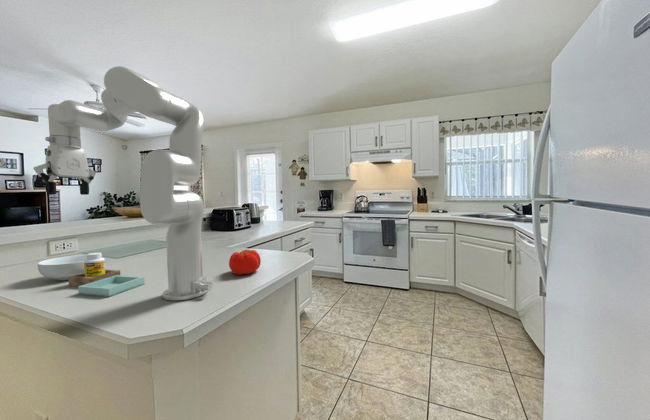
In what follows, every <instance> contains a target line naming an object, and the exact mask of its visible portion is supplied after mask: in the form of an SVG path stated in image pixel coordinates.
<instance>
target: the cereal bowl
mask: <svg viewBox="0 0 650 420" xmlns="http://www.w3.org/2000/svg"><path fill="white" fill-rule="evenodd" d="M85 260H87V254H83V255H81V254H80V255H69V256H61V257H60V256H58V257H54V258H48V259H45V260H42V261H38V262H37V270H38V273H39V274H40V275H41V276H43V277H45V278H48V279H53V280H56V281H69V279H68V277H70V276H74V275H78V274H82V273H85V268H84V261H85Z"/></svg>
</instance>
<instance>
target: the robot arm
mask: <svg viewBox="0 0 650 420" xmlns="http://www.w3.org/2000/svg"><path fill="white" fill-rule="evenodd" d="M103 84H104V88H105V89H103V91H102V92H101V94H100V96H101V97H100V99H101V102H102V105H103V106H104V108H105V109H102V108H98V107H95V106H92V105H89V104H85V103H82V102H79V101H76V100H71V99H70V100H69V99H68V100H63V101H61V102H60V103H53V104H50V105H48V107H47V118H48V120H47V121H48V132H49V134H48V135H49V137H48V136H46V137H45V141H46V142H48V143H49V145H48V146H47V148H46V152H45V153H46V154H45V163H42V164H39V165H37V166H33V170H34V172H35V173H36V174H37V177H38V178H40V179H41V180H42V182H44V186H45V187H44V188H45V192H46V195H57V183H56V181H55V180H56V179H57V178H71V179H73V178H74V179H75V178H76V179H78V180H79V182H80V183H79V193H80V195H83V196H84V195H85V196H87V195H88V196H89V194H90V184H91V182H92V181H93V180H94V178H95V176H96V173H97V172H96V171H95V170H93V169H91V168H90V167H89V163H88V158H87V154H86V151H85V150H84V148H82V140H81V139H82V138H81V128H85V129H90V130H94V131H99V132H108V131H113V130H116V129H119V128H121V127H122V126H123V125H125V123H126V122H127V119H128V117H129V115H132V114H135V113H139V114H141V115H142V116H145V117H148V118H150V119H154V120H157V121H160V122H162V123H166V124H170V125H172V126H175V127H174V129H173V130H171V133H170V137H169V148H168V149H154V150H151V151H150V152H149V153H148V154H147V155H145V157H144V159H143V161H142V164H141V169H140V170H141V171H140V197H139V198H140V199H139V201H140V202H139V203H140V204H139V205H140V207H139V208H140V212H141V215H142V217H143V218H144V220H145V221H146V222H148V223H149V224H151V225H158V226H159V225H160V226H161V225H169V226H168V229H167V232H166V238H165V242H166V244H165V245H166V265H167V266H166V269H167V285H168V288H167V289H165V290H164V291H163V292H162V298H163V299H164V300H167V301H174V302H175V301H185V300H190V299H195V298H198V297H201V296H203V295H205V294H207V293H208V291H211V290H212V289H213V285H214V282H213V281H207V276H204V275H203V274H204V273H203V271H204V270H203V266H204V265H203V247H202V241H203V240H202V239H203V238H202V226H203V225H202V224H203V223H202V222H203V216H204V212H205V211H204V209H205V207H204V201H203V199H202V197H201V196H200V195H199V194H197V193H196V192H194V191H191V190H186V189H185V190H183V189H175V186H176V187H177V186H182V187H188V186H193V185H196V183H198V182H199V179H200V177H201V165H202V143H203V134H204V128H205V119H204V116H203V113H202V111H201V110H200V108H198V106H195V105H194V103H193V104H192V103H191V102H190V101H187V100H185V99H183V98H182V97H180V96H177V95H176V94H173V93H170V92H168V91H167V90H164V89H162V88H160V87H159V86H158V84H157V83H155V81H153V80H151V79H150V78H148V77H146V76H144V75H142V74H140V73H138V72H136V71H134V70H132V69H130V68H128V67H125V66H120V65H119V66H118V65H117V66H113V67H111V68H109V69H108V70H107V71H106V72H105V74H104V76H103ZM44 170H45V171H44ZM45 172H46V173H45Z"/></svg>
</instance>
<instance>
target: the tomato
mask: <svg viewBox="0 0 650 420" xmlns="http://www.w3.org/2000/svg"><path fill="white" fill-rule="evenodd" d="M261 261H262V260H261V255H260V254H259V252H258V251H256V250H255V249H244V250H242V251H235V252H233V253H232V254H231V256H230V257H229V260H228V267H229V269H230V270H231V272H232V273H233V274H235V275H238V276H239V275H240V276H242V275H250V274H252V273H253V272H256V271H257V270H258V269H259V268H260V267H261V263H262V262H261Z"/></svg>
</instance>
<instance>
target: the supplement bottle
mask: <svg viewBox="0 0 650 420" xmlns="http://www.w3.org/2000/svg"><path fill="white" fill-rule="evenodd" d="M102 254H103V253H102V252H90V253H87V254H86V255H87V260H85V261H84V268H85V277H95V276H99V275H102V274H105V270H106V260H105V258H104V257H103V255H102Z"/></svg>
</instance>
